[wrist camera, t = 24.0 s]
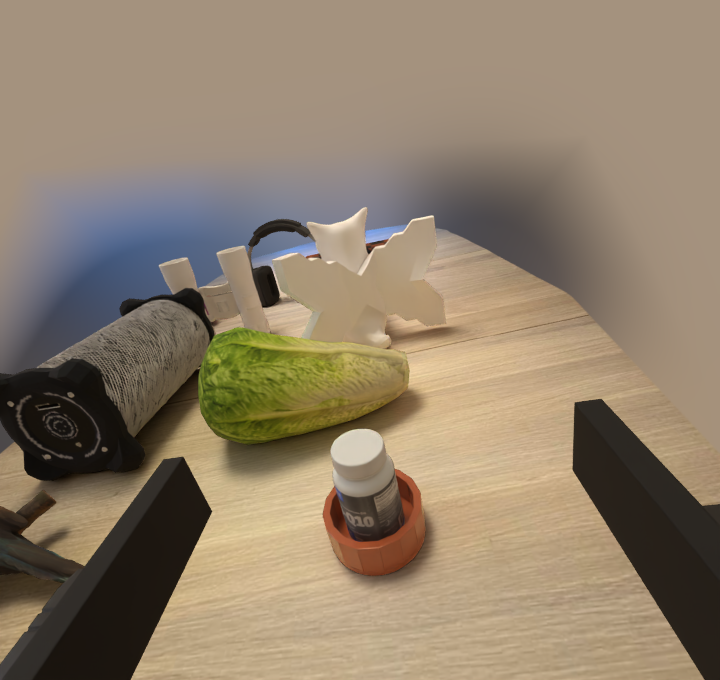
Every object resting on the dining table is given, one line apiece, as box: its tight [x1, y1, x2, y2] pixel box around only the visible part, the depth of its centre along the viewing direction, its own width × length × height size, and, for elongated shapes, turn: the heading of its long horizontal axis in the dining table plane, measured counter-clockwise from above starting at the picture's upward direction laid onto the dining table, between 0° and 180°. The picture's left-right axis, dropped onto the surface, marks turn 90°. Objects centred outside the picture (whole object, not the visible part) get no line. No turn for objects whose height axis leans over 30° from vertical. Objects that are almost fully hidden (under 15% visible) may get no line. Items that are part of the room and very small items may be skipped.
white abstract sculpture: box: [272, 207, 446, 349], centre depth 62 cm, size 25×21×21 cm
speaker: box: [0, 288, 215, 481], centre depth 54 cm, size 15×28×15 cm, turn 176°
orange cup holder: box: [323, 469, 426, 576], centre depth 30 cm, size 8×8×3 cm
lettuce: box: [198, 327, 410, 445], centre depth 45 cm, size 14×24×14 cm
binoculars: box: [159, 246, 270, 335], centre depth 75 cm, size 17×5×18 cm, turn 88°
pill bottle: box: [331, 429, 405, 542], centre depth 29 cm, size 5×5×8 cm
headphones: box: [247, 219, 321, 306], centre depth 92 cm, size 22×6×20 cm, turn 79°
